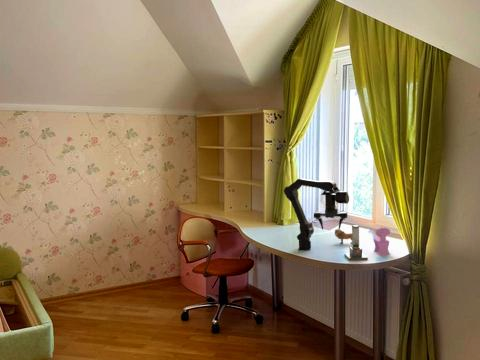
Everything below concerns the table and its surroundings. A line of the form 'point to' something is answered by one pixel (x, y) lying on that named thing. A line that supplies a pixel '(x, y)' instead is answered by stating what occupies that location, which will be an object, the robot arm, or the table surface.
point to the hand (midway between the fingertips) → (330, 229)
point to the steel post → (355, 237)
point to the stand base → (355, 255)
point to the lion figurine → (342, 235)
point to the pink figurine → (382, 241)
